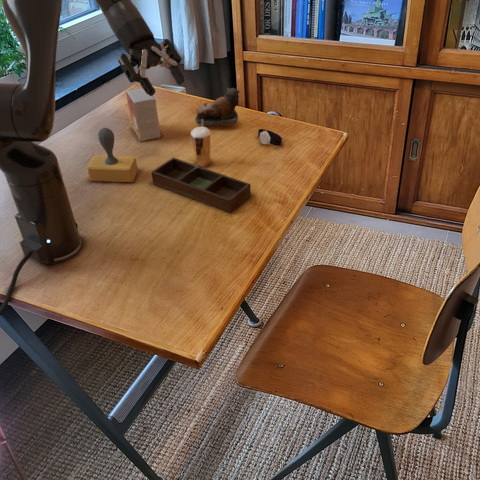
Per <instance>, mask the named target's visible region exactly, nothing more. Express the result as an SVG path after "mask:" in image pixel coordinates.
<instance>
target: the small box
mask: <svg viewBox="0 0 480 480" xmlns="http://www.w3.org/2000/svg"><path fill="white" fill-rule="evenodd" d="M125 95H126V101H127V105H128V111H129V112H128V113H129V117H130V122H131V127H132V130H133V131H134V133H135V135H136V136H137V138H138V140H139V142H143V141H149V140H153V139H158V138H161V137H162V136H161V130H160V122H159V114H158V108H157V101H156V98H155V96H154V95H153V96H149V94H147V93H146V92H145V91H144V89H143V88H142V87H140V88H135V89H134V88H133V89H128V90H125Z"/></svg>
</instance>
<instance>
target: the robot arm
mask: <svg viewBox="0 0 480 480" xmlns="http://www.w3.org/2000/svg"><path fill="white" fill-rule="evenodd" d="M94 2H95V3H96V4H97V6H98V8H99V9H100V11H101V13H102V14H103V16H104V17H105V19H106V21H107V23H108V25H109V27H110V30H112V32H113V33H114V36H115V37H116V38H117V41H118V42H119V43H120V45H121V47H122V48H123V50H124V51H125V52H126V53H127V54H126V53H124V52H123V53H121V55H120V56H119V58H118V60H117V61H118V64H119V66H120V67H121V69H122V71H123V73H124V74H125V76H126V78H127V80H128V82H129V83H131V84H133V83H138V84H140V86H141V88H143V89H144V91H145V92H146V93H147V94H149V96H153V97H154V95H155V94H156V88H155V87H154V86H153V84H152V82H151V81H150V80H149V78H148V77H147V76H146V74H147V73H146V71H147V70H150V69H151V68H154V67H157V66H159V67H161V68H165V69H167V70H168V71H170V74H171V76H172V78H173V79H174V81H175V82H176V84H177V85H178V86H181V85H183V83H184V82H185V76H184V73H182V71H181V69H180V68H179V65H180V63H181V62H182V60H183V59H182V57H181V56H180V54H179V52H178V51H177V49H176V48H175V47H174V46H173V43H172V42H171V40H170V39H168V38H165V39H164V41H163V42H160V43H159V42H158V41H156V39H155V36H154V33H153V32H152V30H151V28H150V27H149V25H148V23H147V22H146V20H145V19H144V17H143V15H142V14H141V12H140V11H139V9H138V8H137V7H136V4H134V2H133V1H132V0H94ZM1 6H2V10H3V13H4V14H5V18H6V19H7V21H8V24H9V25H10V27H11V29H12V31H13V33H14V36H16V38H17V40H18V42H19V44H20V45H21V48H22V50H23V53H24V57H25V62H26V63H25V64H26V65H25V66H26V72H25V73H26V75H25V81H24V83H8V82H7V83H6V82H5V83H4V82H0V171H1V172H2V173H3V174H4V177H5V179H6V180H5V181H6V182H7V185H8V188H9V190H10V193H11V197H12V200H13V202H14V204H15V205H14V206H15V208H16V210H17V213H16V214H15V215H14V218H15V221H16V224H17V226H18V230H19V232H20V234H21V237H22V238H21V239H22V240H20V241H19V245H20V247H21V250H22V252H23V255H24V256H23V257H22V259H21V260H20V262H19V263H18V264H17V266H16V268H15V270H14V271H13V275H12V278H11V280H10V283H9V287H8V289H7V292H6V294H5V297H4V300H3V302H2V304H1V306H0V317H1V316H2V315H3V313H4V312H5V310H6V308H7V307H8V305H9V302H10V300H11V297H12V294H13V292H14V289H15V287H16V284H17V280H18V277H19V274H20V272H21V270H22V268H23V267H24V265H25V264H26V263H27V262H28V260H29V259H31V260H33V261H36V262H37V263H40V264H42V263H44V264H46V265H47V266H52V265H53V264H55V263H61V262H63V261H64V262H65V261H66V260H70V259H71V258H72V257H74V256H75V255H78V253H79V252H80V250H81V249H82V246H83V242H82V238H81V236H80V233H79V226H78V224H77V222H76V219H75V216H74V212H73V209H72V205H71V201H70V199H69V195H68V192H67V188H66V185H65V181H64V178H63V173H62V170H61V167H60V164H59V159H58V157H57V155H56V154H55V153H54V152H53V150H51V149H49V148H47V147H45V146H43V145H41V144H38V143H42V142H45V141H47V140H48V139H49V138H50V136H51V134H52V132H53V129H54V123H55V118H56V117H55V115H56V70H57V69H56V68H57V66H56V64H57V49H58V39H59V29H60V21H61V15H62V8H63V0H1ZM132 63H134V64H135V65H136V70H135V68H134V67H133V64H132Z"/></svg>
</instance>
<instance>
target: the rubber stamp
mask: <svg viewBox="0 0 480 480" xmlns="http://www.w3.org/2000/svg"><path fill="white" fill-rule="evenodd" d="M97 139H98V142H99V143H100V145H101V147H102V148H103V150H104V151H105V153H106V155H93V157H92V158H91V159H90V162H89V163H88V164H87V166H86V170H87V175H88V178H89V182H107V183H109V182H110V183H133V182H134V180H135V178H136V175H137V174H138V172H139V170H138V163H137V158H136V157H135V156H126V155H125V156H120V155H114V152H113V151H114V145H115V133H114V131H113V130H111V128H108V127H102V128H100V130H99V131H98V133H97Z"/></svg>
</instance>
